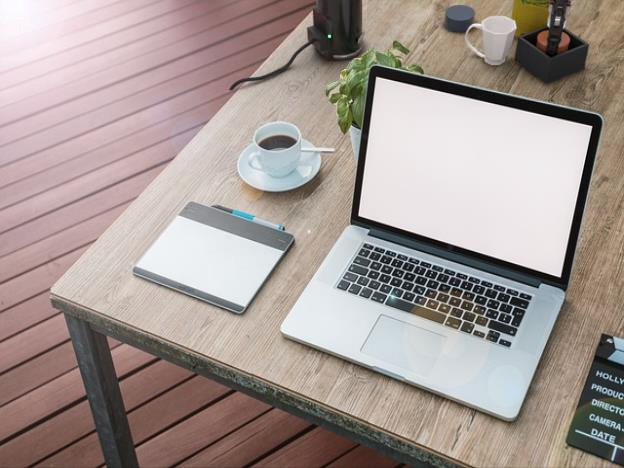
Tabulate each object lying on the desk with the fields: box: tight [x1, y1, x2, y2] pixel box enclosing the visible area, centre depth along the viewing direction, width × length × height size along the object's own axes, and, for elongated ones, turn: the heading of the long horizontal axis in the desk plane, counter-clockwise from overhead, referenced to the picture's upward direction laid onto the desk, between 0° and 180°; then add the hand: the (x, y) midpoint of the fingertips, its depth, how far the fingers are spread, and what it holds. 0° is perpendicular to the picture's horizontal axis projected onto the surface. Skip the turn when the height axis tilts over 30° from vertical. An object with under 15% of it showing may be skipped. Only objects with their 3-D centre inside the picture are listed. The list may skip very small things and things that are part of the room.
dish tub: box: [514, 26, 590, 85], centre depth 167 cm, size 10×10×6 cm
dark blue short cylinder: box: [444, 4, 476, 33], centre depth 179 cm, size 6×6×3 cm
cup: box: [464, 15, 517, 66], centre depth 168 cm, size 7×10×8 cm
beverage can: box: [510, 0, 550, 40], centre depth 173 cm, size 9×9×12 cm
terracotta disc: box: [536, 30, 570, 58], centre depth 165 cm, size 6×6×3 cm
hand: (552, 45), depth 165 cm, fingers closed on terracotta disc, 6 cm apart
